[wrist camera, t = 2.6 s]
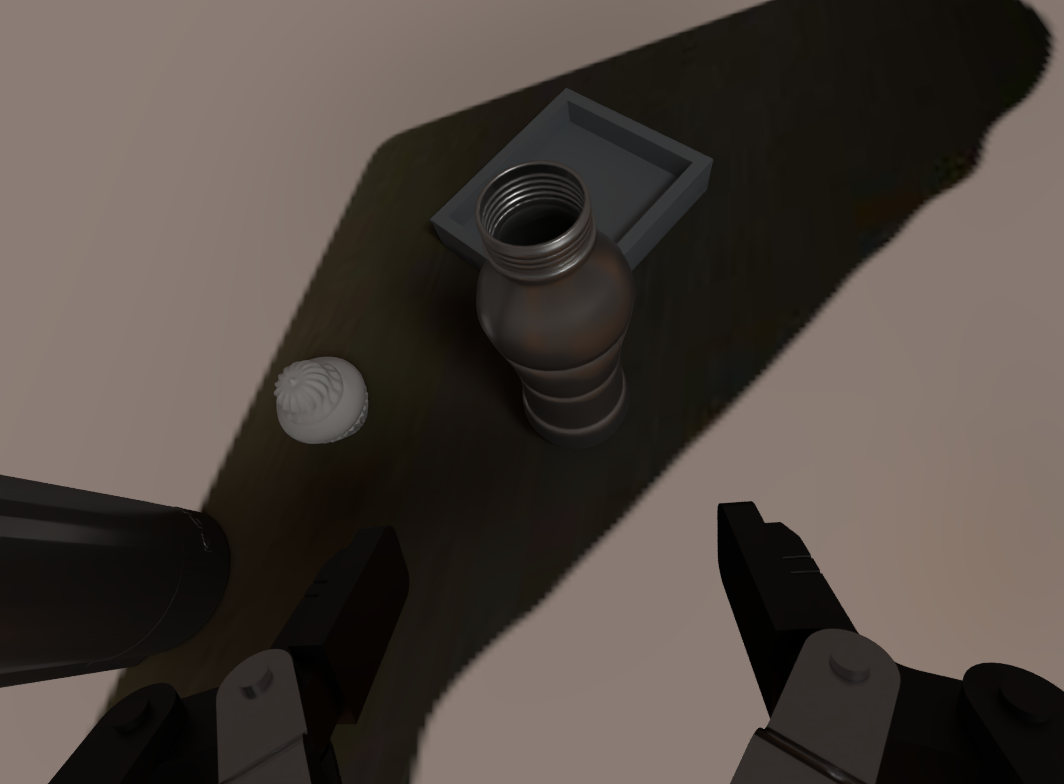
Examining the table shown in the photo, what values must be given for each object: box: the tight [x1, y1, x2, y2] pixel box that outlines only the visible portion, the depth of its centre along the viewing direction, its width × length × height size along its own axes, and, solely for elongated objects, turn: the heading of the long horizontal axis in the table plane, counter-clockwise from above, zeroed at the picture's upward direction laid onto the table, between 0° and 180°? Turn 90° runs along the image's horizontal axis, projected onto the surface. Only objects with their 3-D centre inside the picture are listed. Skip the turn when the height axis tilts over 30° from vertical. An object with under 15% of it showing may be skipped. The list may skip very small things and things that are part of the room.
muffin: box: [274, 357, 368, 444], centre depth 34 cm, size 6×6×7 cm
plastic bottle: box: [475, 160, 635, 449], centre depth 25 cm, size 6×7×20 cm
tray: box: [430, 88, 713, 271], centre depth 39 cm, size 16×14×3 cm
